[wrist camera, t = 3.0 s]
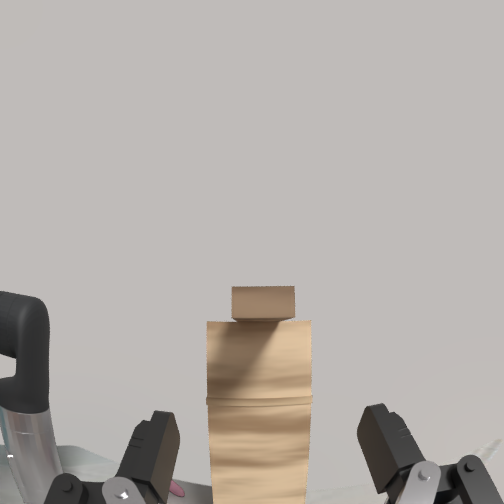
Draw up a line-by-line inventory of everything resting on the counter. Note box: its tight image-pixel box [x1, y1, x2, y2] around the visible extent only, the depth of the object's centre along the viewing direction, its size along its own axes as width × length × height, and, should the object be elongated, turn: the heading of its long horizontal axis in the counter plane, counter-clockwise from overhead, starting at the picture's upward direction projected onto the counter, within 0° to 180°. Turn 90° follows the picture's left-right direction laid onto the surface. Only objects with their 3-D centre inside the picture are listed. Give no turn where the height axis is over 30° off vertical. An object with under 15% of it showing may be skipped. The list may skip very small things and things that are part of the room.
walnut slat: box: [232, 286, 295, 322], centre depth 28 cm, size 22×4×2 cm, turn 0°
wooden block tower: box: [206, 320, 312, 504], centre depth 26 cm, size 10×10×32 cm
